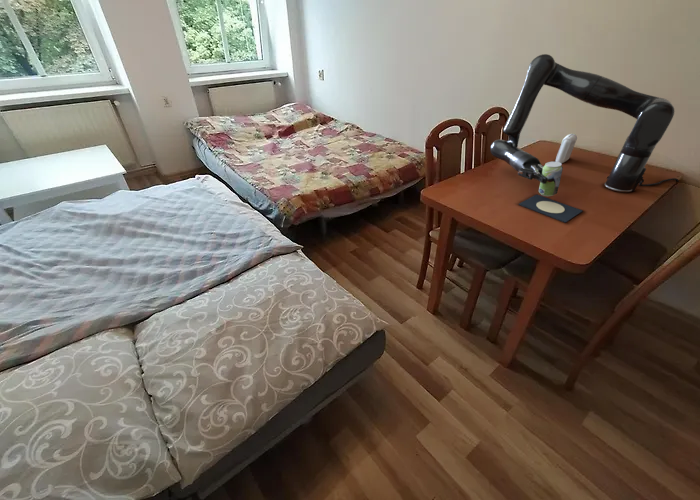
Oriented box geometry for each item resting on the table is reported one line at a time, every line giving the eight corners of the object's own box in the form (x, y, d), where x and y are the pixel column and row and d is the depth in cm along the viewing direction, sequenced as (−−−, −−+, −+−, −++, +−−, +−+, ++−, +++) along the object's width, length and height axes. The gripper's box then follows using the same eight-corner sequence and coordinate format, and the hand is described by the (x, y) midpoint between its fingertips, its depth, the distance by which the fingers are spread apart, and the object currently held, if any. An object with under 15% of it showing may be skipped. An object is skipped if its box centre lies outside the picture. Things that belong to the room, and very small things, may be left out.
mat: (518, 204, 122) (518, 203, 121) (536, 195, 128) (536, 194, 128) (565, 223, 111) (565, 221, 110) (582, 211, 117) (583, 210, 117)
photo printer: (560, 156, 163) (570, 131, 155) (570, 158, 160) (580, 132, 153) (553, 161, 157) (562, 135, 150) (563, 164, 154) (573, 137, 147)
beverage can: (559, 198, 118) (572, 166, 111) (538, 198, 118) (550, 166, 111) (550, 190, 123) (562, 159, 116) (531, 190, 123) (542, 159, 116)
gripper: (509, 154, 125) (535, 172, 111) (543, 152, 127) (573, 169, 113) (504, 173, 130) (528, 192, 116) (537, 170, 131) (565, 189, 117)
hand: (550, 180), depth 114 cm, fingers closed on beverage can, 3 cm apart
